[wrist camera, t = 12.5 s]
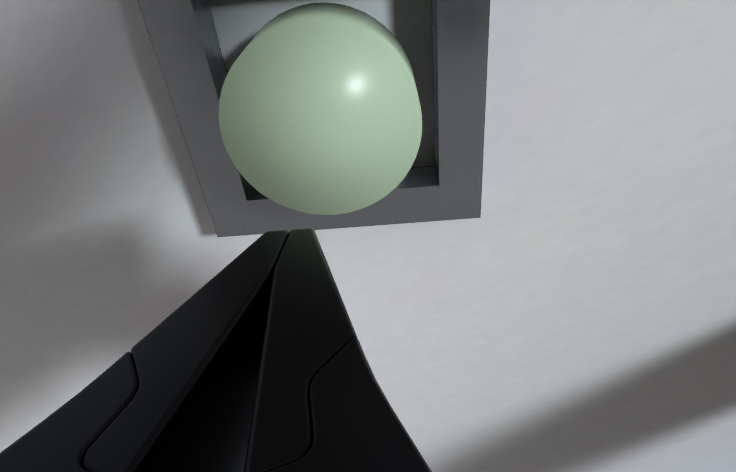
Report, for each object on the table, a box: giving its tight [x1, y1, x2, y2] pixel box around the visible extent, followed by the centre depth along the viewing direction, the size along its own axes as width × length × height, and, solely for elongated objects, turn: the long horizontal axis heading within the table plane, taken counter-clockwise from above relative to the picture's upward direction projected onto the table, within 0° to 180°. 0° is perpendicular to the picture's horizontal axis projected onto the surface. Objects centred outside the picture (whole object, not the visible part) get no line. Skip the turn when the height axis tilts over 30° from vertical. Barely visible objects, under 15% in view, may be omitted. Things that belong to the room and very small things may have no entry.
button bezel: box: [138, 0, 490, 237], centre depth 16 cm, size 10×10×2 cm
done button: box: [219, 3, 422, 215], centre depth 14 cm, size 6×6×2 cm
